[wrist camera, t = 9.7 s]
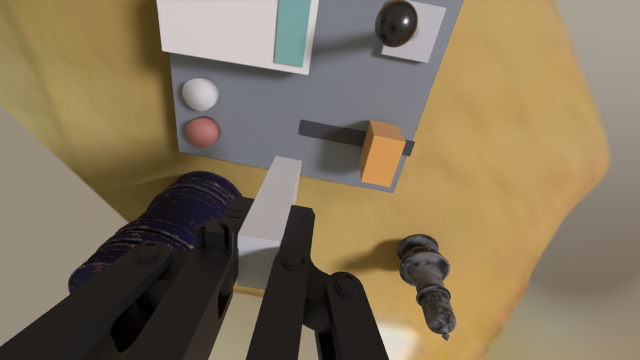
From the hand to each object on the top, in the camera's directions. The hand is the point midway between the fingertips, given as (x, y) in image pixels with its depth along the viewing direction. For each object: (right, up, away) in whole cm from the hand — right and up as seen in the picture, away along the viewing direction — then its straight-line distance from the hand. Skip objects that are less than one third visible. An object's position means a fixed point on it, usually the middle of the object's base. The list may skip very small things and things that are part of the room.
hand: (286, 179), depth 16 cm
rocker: (-3, +11, +3) cm, 12 cm away
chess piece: (+15, -9, +20) cm, 27 cm away
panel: (0, +10, +11) cm, 15 cm away
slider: (+7, +4, +9) cm, 12 cm away
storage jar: (-12, -3, +19) cm, 23 cm away
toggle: (+9, +11, +4) cm, 14 cm away
